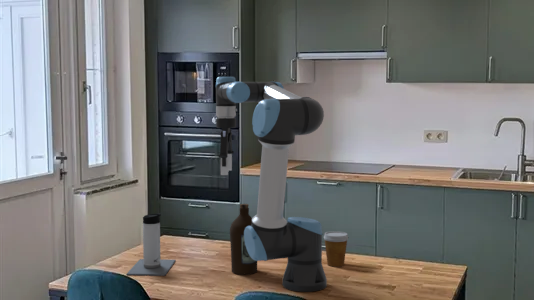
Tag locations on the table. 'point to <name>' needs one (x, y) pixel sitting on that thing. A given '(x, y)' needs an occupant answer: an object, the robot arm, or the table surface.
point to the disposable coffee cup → (335, 248)
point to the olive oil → (241, 244)
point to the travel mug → (151, 240)
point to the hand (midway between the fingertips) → (226, 172)
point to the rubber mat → (160, 271)
